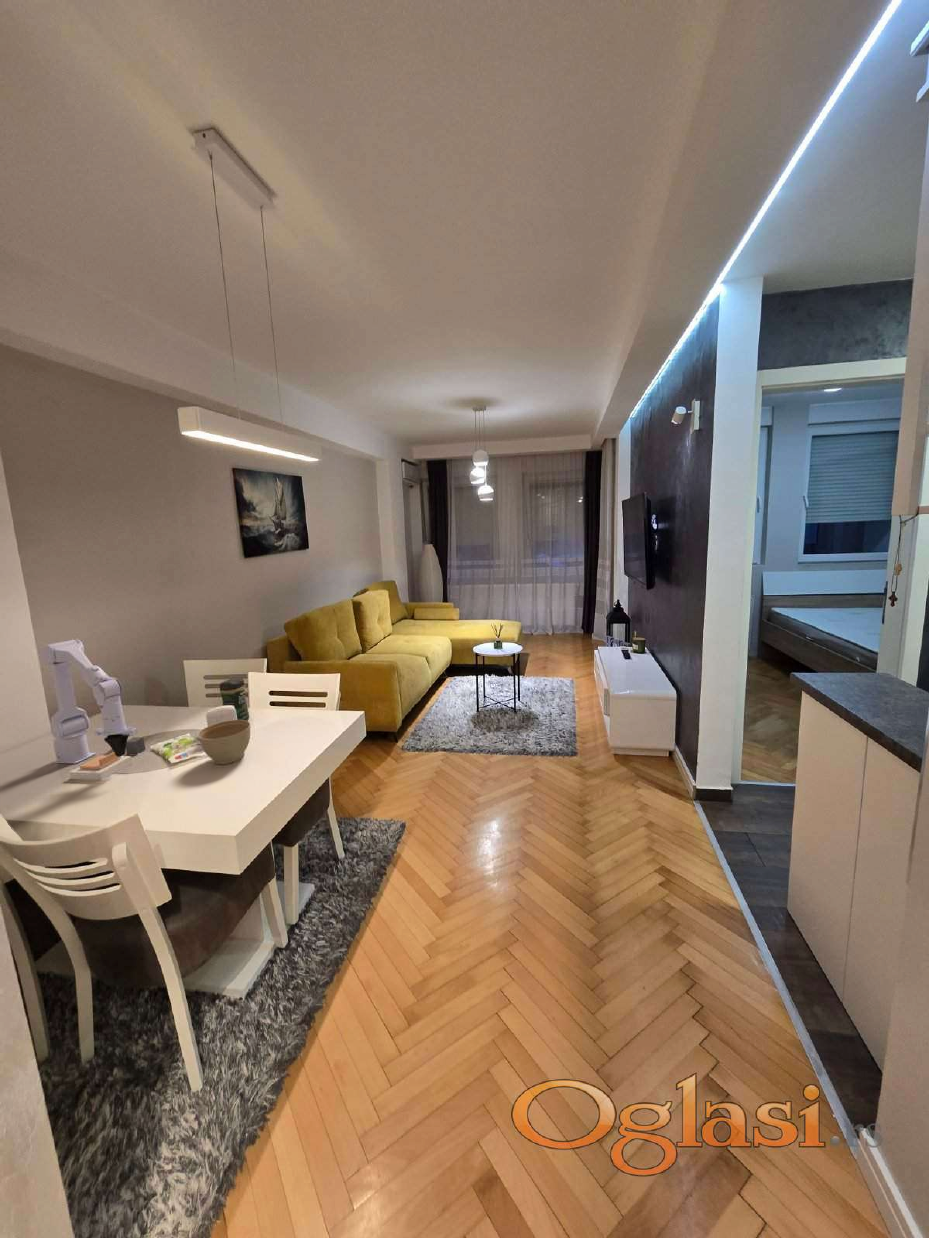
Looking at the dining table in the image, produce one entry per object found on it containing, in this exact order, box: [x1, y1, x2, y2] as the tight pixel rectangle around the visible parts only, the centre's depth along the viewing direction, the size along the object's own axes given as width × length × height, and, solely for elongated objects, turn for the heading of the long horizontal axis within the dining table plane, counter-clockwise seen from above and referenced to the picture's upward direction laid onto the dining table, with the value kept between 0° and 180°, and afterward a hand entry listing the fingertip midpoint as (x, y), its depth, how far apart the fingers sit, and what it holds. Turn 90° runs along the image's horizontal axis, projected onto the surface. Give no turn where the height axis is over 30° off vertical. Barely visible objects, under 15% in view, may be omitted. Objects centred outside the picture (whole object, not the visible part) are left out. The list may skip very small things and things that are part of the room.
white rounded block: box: [205, 705, 237, 727], centre depth 189 cm, size 10×4×12 cm, turn 123°
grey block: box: [125, 736, 146, 756], centre depth 181 cm, size 4×4×5 cm
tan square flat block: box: [78, 751, 121, 769], centre depth 167 cm, size 8×8×3 cm
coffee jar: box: [219, 676, 250, 721], centre depth 204 cm, size 10×8×19 cm
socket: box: [68, 755, 133, 781], centre depth 168 cm, size 12×12×2 cm
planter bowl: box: [197, 720, 251, 765], centre depth 170 cm, size 16×16×11 cm
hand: (120, 755), depth 165 cm, fingers closed
